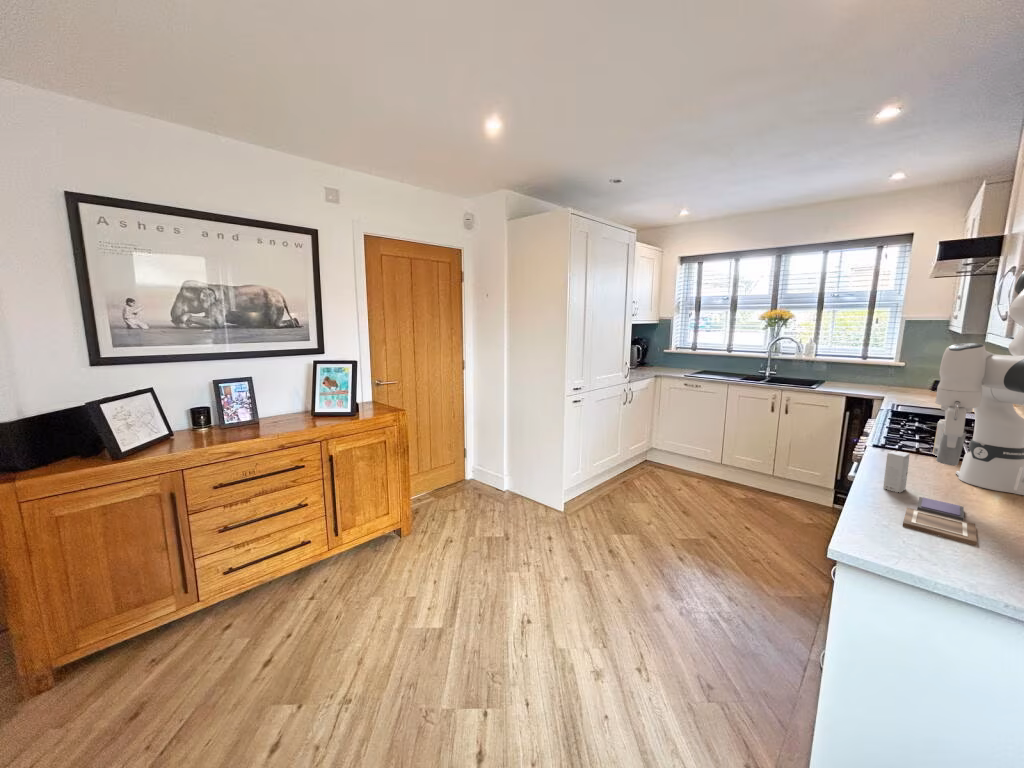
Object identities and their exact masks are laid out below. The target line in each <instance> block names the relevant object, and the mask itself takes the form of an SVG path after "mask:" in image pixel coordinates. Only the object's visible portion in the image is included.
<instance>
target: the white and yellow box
mask: <svg viewBox="0 0 1024 768" xmlns="http://www.w3.org/2000/svg"><path fill="white" fill-rule="evenodd" d="M944 428H945V418H943V419H941V418H940V419H939V421H937V425H936V432H935V436H934V437H935V438H934V444H933V448H932V449H933V450H932V454H933V455H935V456H937V455H938V451H939V447H940V443H941V439H942V435H943V431H944ZM935 456H934V457H935Z"/></svg>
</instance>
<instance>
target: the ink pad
mask: <svg viewBox="0 0 1024 768" xmlns="http://www.w3.org/2000/svg"><path fill="white" fill-rule="evenodd" d="M916 510H920V511H924V512H928V513H932V514H936V515H940V516H945V517H949V518H953V519H957V520H961V521H965V520H964V519H965V512H964V505H963V506H961V505H960V504H956V503H955V504H954V503H949V502H945V501H941V500H937V499H932V498H927V497H922V496H919V498H918V502H917V507H916Z"/></svg>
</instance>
